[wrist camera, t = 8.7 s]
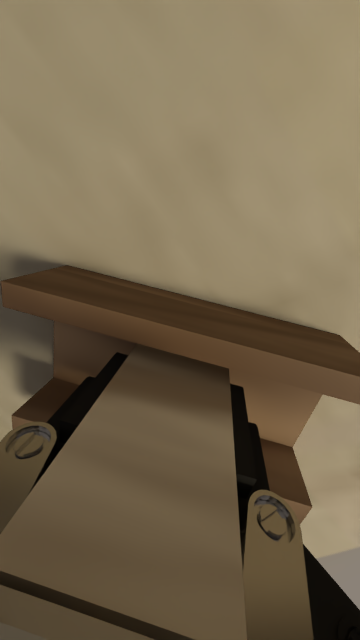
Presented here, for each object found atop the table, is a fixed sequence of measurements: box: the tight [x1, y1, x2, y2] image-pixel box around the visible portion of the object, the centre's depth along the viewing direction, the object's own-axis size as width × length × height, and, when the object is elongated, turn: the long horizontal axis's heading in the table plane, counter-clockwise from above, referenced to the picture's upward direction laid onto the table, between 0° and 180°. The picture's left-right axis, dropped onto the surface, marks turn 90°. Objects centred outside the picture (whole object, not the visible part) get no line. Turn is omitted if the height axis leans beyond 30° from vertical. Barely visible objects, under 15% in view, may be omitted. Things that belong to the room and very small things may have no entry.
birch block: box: [0, 343, 247, 640], centre depth 8 cm, size 4×4×8 cm
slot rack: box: [1, 265, 360, 524], centre depth 13 cm, size 16×14×4 cm
